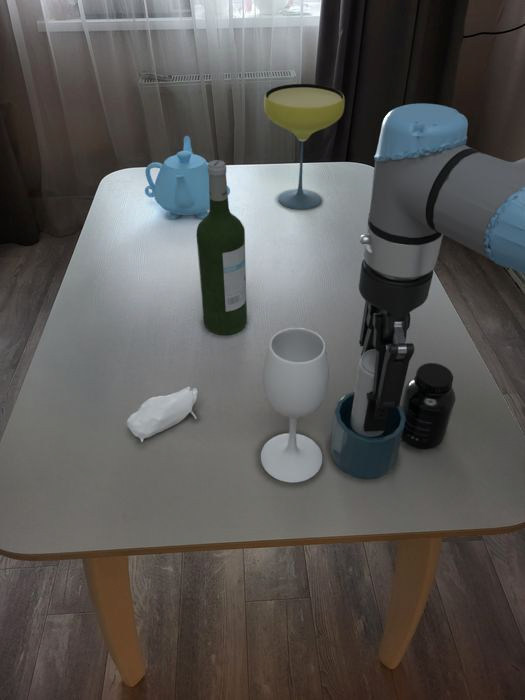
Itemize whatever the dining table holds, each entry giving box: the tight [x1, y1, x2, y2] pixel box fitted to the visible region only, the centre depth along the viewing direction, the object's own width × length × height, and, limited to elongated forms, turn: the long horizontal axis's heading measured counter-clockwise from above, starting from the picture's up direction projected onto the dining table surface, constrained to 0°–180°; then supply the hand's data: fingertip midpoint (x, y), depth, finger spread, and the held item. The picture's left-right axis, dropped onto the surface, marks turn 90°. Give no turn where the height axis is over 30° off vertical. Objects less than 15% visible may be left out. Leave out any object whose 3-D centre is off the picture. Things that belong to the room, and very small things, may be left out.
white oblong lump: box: [126, 386, 199, 443], centre depth 82 cm, size 5×7×10 cm
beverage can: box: [351, 349, 384, 437], centre depth 72 cm, size 5×5×12 cm
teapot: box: [144, 135, 231, 220], centre depth 132 cm, size 16×20×14 cm
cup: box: [330, 390, 406, 480], centre depth 77 cm, size 9×9×8 cm
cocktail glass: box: [263, 83, 346, 210], centre depth 132 cm, size 18×18×25 cm
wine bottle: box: [195, 159, 248, 336], centre depth 92 cm, size 8×8×30 cm
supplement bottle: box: [400, 362, 456, 450], centre depth 78 cm, size 7×7×12 cm
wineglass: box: [260, 327, 330, 484], centre depth 72 cm, size 9×9×21 cm
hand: (370, 412), depth 74 cm, fingers closed on beverage can, 5 cm apart
